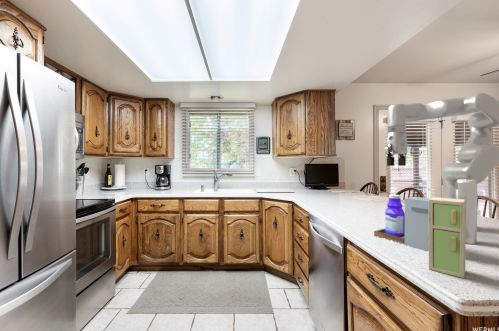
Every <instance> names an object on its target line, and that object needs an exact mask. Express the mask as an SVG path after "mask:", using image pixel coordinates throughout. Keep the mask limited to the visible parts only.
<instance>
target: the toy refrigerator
mask: <svg viewBox="0 0 499 331" xmlns="http://www.w3.org/2000/svg"><path fill="white" fill-rule="evenodd" d="M429 198H430V199H429V251H428V270H430V271H435V272H438V273H442V274H447V275H449V276H454V277H458V278H461V279H462V278H463V279H464V278H465V275H466V243H465V200H463V199H451V198H443V197H438V196H437V197H436V196H432V197H429Z"/></svg>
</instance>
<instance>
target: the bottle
mask: <svg viewBox="0 0 499 331" xmlns="http://www.w3.org/2000/svg"><path fill="white" fill-rule="evenodd" d="M386 206H387V208H386V209H385V212H384V213H385V214H384V220H385V221H384V223H385V225H384V229H385V232H386V234H389V235H393V236H396V237H404V235H405V210H404V209H403V207H404V205H403V204H402V200H401V195H399V194H389V196H388V202H387V204H386Z"/></svg>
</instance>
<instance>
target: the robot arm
mask: <svg viewBox="0 0 499 331" xmlns="http://www.w3.org/2000/svg"><path fill="white" fill-rule="evenodd" d="M469 114H471V115H469ZM465 115H469V116H468V119H467V125H468V129H469V132H470V136H469V138H468V139H467V140H466V142H465V143H464V144H463V146H462V147H461V149H460V150H459V151H458V153H457V155H456V159H457V161H458V162H450V163H447V164H445V165H444V166H443V167H442V168H441V170H440V176H441V181H442V190H443V192H442V193H443V194H442V198H451V199H455V187H456V181H457V180H458V179H467V180H476V182H477V183H478V184H481V183H482V182H484V181H485V180H486V179H487V178H488V176H489V175H490V174H491V172H493V170H494V169H495V168H496V166H497V165H498V164H499V146H497V145H494V144H493V142H494V136H493V135H492V133H491V130H490V128H496V127H499V100H498V99H496V97H493V96H492V95H490V94H489V93H485V92H476V93H473V94H470V95H467V96H462V97H455V98H447V99H446V98H445V99H439V100H435V101H433V102H432V101H431V102H429V103H426V104H425V103H424V104H423V103H419V102H414V103H408V104H406V103H405V104H404V103H397V104H392V105H389V106H388V108H387V139H386V147H385V148H384V152H385V156H386V166H388V167H394V166H395V157H394V156H395V155H398V159H397V162H398V163H397V164H398V166H401V167H404V166H406V165H407V164H406V163H407V160H406V159H407V154H408V137H407V123H411V122H417V121H425V120H426V121H427V120H435V119H441V118H442V119H443V118H449V117H456V116H465Z"/></svg>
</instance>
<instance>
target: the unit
mask: <svg viewBox="0 0 499 331" xmlns="http://www.w3.org/2000/svg"><path fill="white" fill-rule="evenodd" d="M430 198H431V197H429V198H428V197H423V196H422V197H419V196H413V197H412V196H411V197H406V198H404V213H405V239H404V244H405V246H408V247H411V248H415V249H419V250H422V251H426V252H429V199H430Z"/></svg>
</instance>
